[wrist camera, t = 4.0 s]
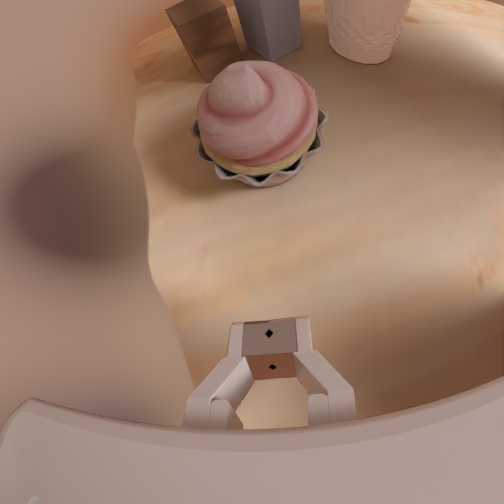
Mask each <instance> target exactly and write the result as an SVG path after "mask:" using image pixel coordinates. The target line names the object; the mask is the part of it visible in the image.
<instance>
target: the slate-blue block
mask: <svg viewBox="0 0 504 504" xmlns="http://www.w3.org/2000/svg"><path fill="white" fill-rule="evenodd" d="M234 3H235V6H236V9H237V13H238V16H239V20H240V23H241V27H242V30H243V34H244V37H245V41H246V44H247V46H248V47H249V48H251V49H252V50H254V51H255V52H257V53H258V54H260V55H261V56H263V57H264V58H265V59H267V60H268V61H270V62H274V61H276V60H278V59H279V58H281V57H283V56H285V55H286V54H288V53H290V52H292V51H294V50H296V49H297V48H299V47H301V46H302V37H301V23H300V10H299V0H234Z"/></svg>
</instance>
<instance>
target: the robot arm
mask: <svg viewBox="0 0 504 504" xmlns="http://www.w3.org/2000/svg"><path fill="white" fill-rule="evenodd" d="M291 377H297V379H298V380H299V381H300V383H301V384H302V385H303V387H304V388H305V389H306V390H307V392H308V393H309V394H310V396H309V397H308V398H307V400H308V426H304V427H292V428H276V429H243V426H244V425H243V423H242V422H241V420H240V419H239V417H238V416H237V414H236V413H235V410H236V409H237V407H238V406H239V404H240V403H241V401H242V400H243V399H244V397H245V396H246V394H247V393H248V391H249V390H250V388H251V386H252V385H253V383H254V382H255V381H254V380H264V379H275V378H291ZM0 504H504V376H502V377H500V378H497V379H495V380H493V381H490V382H488V383H485V384H483V385H480V386H478V387H475V388H473V389H470V390H467V391H464V392H462V393H459V394H456V395H453V396H450V397H447V398H444V399H441V400H437V401H434V402H431V403H427V404H424V405H420V406H417V407H413V408H409V409H405V410H401V411H397V412H392V413H388V414H383V415H378V416H374V417H368V418H363V419H358V416H357V409H356V402H355V396H354V389H353V387H352V386H351V385H350V384H349V383H348V382H347V381H346V380H345V379H344V378H343V377H342V376H341V375H340V374H339V373H338V372H337V371H336V370H335V369H334V368H333V367H332V366H331V365H330V364H329V362H328V361H327V360H326V359H325V358H324V357H323V356H322V355H321V354H320V353H319V352H318V351H317V350H313V349H312V340H311V331H310V322H309V316H299V317H289V318H281V319H273V320H266V321H252V322H237V323H232V324H231V326H230V334H229V342H228V351H227V357H223V358H222V359H221V361H220V362H219V363H218V364H217V365H216V366H215V367H214V369H213V370H212V371H211V372H210V373H209V374H208V375H207V377H206V378H205V379H204V380H203V381H202V382H201V383H200V385H199V386H198V387H197V388H196V389H195V390H194V391H193V392H192V394H191V395H190V396H189V397H188V398H187V404H186V409H185V414H184V420H183V425H182V427H173V426H164V425H155V424H147V423H140V422H133V421H127V420H121V419H116V418H110V417H105V416H100V415H95V414H91V413H87V412H82V411H78V410H74V409H70V408H67V407H63V406H59V405H56V404H52V403H49V402H46V401H42V400H39V399H36V398H30V399H28V400H26V401H25V402H24V403H22V404H21V405H20V406H19V407H18V408H17V409H15V410H14V411H13V412H12V413H11V414H10V415H9V417H8V419H7V421H6V422H5V425H4V427H3V429H2V431H1V434H0Z"/></svg>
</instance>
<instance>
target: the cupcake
mask: <svg viewBox="0 0 504 504" xmlns="http://www.w3.org/2000/svg"><path fill="white" fill-rule="evenodd" d="M328 119H329V115H328V114H327V112H325V111H324V110H323V109H321V108H320V107H319V106H318V104H317V99H316V90H315V89H313V88H311V87H310V86H309V84H308V83H307V82H306V81H305V80H304V79H303V78H302V77H301V76H300V75H298V74H296V73H294V72H292V71H290V70H287V69H284V68H283V67H281V66H279V65H277V64H275V63H273V62H269V61H240V62H235V63H232V64H230V65H229V66H227V67H226V68H225V69H224V70H223V71H222V72H220V73H219V74H218V75H217V76H216V77H215V78H214V79H213V81H212V82H211V84H210V85H209V86H208V87H207V88H206V89H205V90H204V91H203V92H202V94H201V97H200V99H199V102H198V106H197V120H196V121H195V122H194V123H193V125H192V127H191V129H190V131H191V134H192V136H193V137H194V138H196V139H197V140H198V144H197V148H196V153H197V157H198V158H199V159H200V160H201V161H202V162H207V163H212V164H213V165H214V168H215V171H216V174H217V175H218V176H219V178H220V179H237V180H240V181H242V182H244V183H246V184H248V185H251V186H254V187H272V186H277V185H280V184H282V183H284V182H286V181H288V180H289V179H291V178H292V177H294V176H295V175H296V174H297V173H298V172H299V170H300V169H301V168H302V166H303V164H304V162H305V161H306V160H307V158H308V157H310V156H312V155H313V154H315V153H317V152H318V151H320V150H321V149H323V148H324V141H323V138H322V135H321V133H320V130H321V128H322V127H323V126H324V125H325V123H326V122H327V121H328Z"/></svg>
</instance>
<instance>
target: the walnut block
mask: <svg viewBox="0 0 504 504" xmlns="http://www.w3.org/2000/svg"><path fill="white" fill-rule="evenodd" d="M166 12H167V14H168V16H169V18H170V20H171V21H172V24H173V25H174V27H175V29H176V31H177V33H178V35H179V37H180V39H181V40H182V42H183V44H184V46H185V48H186V50H187V52H188V54H189V56H190V58H191V60H192V62H193V63H194V65H195V66H196V68H197V69H198V70H199V72H200V73H201V75H202V76H203V78H204V79H205V80H206V82H207V83H209V82H211V81H213V79H214V78H215V77H216V76H217V75H218V74H219V73H220V72H222V71H223V70H224V69H225V68H226V67H227V66H229V65H230V64H232V63H235V62H240V61H242V57H241V54H240V51H239V48H238V44H237V41H236V38H235V35H234V32H233V29H232V25H231V22H230V19H229V16H228V13H227V10H226V7H225V5H224V4H223V3H222V2H220V1H219V0H185V1H183V2H180V3H178V4H176V5H174V6H172V7H170V8H168V9H166Z"/></svg>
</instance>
